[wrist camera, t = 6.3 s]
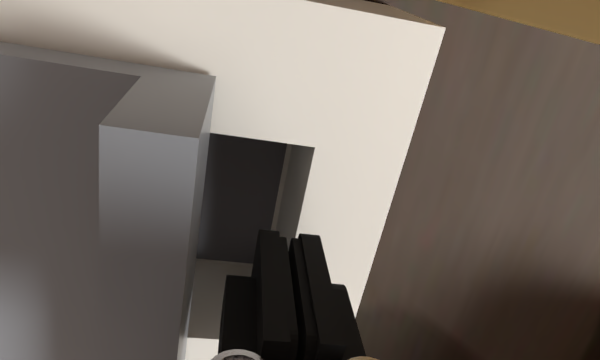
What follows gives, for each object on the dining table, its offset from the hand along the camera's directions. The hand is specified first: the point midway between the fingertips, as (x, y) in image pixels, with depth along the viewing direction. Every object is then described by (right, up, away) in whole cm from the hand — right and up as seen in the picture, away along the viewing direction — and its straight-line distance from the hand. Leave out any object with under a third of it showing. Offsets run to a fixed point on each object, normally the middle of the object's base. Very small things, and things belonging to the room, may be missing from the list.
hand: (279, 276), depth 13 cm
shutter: (-6, +1, 0) cm, 6 cm away
